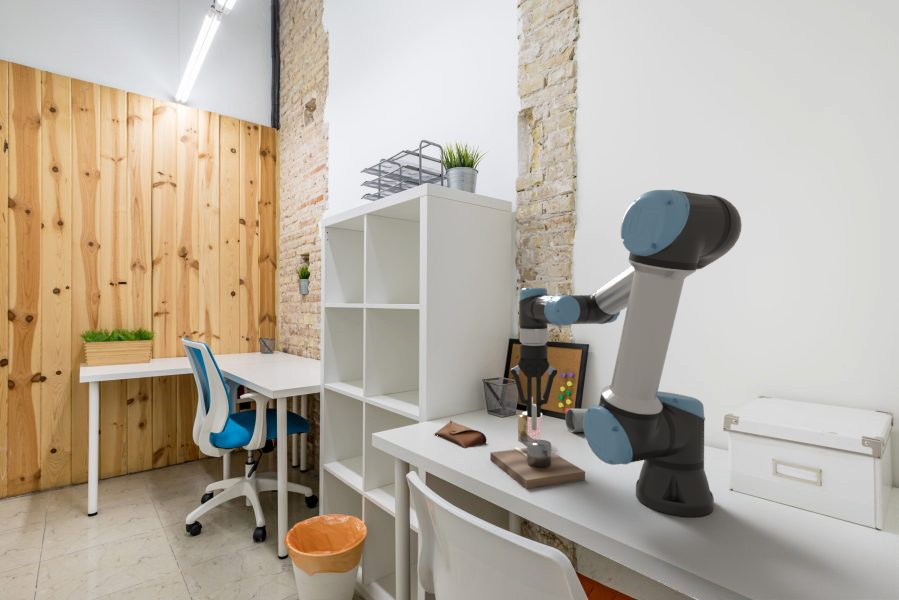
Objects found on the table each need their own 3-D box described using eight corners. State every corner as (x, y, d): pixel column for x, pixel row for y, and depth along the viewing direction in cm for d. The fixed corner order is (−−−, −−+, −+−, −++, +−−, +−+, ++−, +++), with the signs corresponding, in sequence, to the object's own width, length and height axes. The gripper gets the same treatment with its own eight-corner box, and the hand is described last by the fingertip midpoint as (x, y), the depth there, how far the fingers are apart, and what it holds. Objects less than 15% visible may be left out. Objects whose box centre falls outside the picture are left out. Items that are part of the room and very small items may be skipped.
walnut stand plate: (585, 479, 109) (585, 470, 109) (526, 488, 104) (526, 478, 104) (540, 452, 129) (540, 444, 129) (489, 459, 123) (489, 450, 123)
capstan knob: (555, 466, 112) (555, 429, 112) (532, 468, 111) (532, 430, 111) (531, 446, 127) (531, 413, 127) (511, 448, 126) (510, 414, 126)
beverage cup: (535, 438, 141) (535, 394, 141) (546, 444, 136) (546, 398, 136) (518, 441, 139) (518, 395, 139) (528, 447, 133) (528, 399, 133)
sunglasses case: (430, 433, 146) (439, 414, 148) (445, 441, 150) (453, 422, 152) (465, 448, 132) (474, 427, 134) (481, 456, 135) (489, 435, 137)
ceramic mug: (598, 433, 147) (598, 409, 147) (575, 435, 145) (575, 411, 145) (581, 425, 157) (581, 403, 157) (560, 427, 155) (560, 404, 155)
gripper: (555, 342, 127) (556, 425, 128) (509, 341, 129) (510, 424, 129) (559, 345, 120) (559, 433, 121) (510, 345, 121) (510, 432, 122)
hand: (533, 428), depth 125 cm, fingers closed
